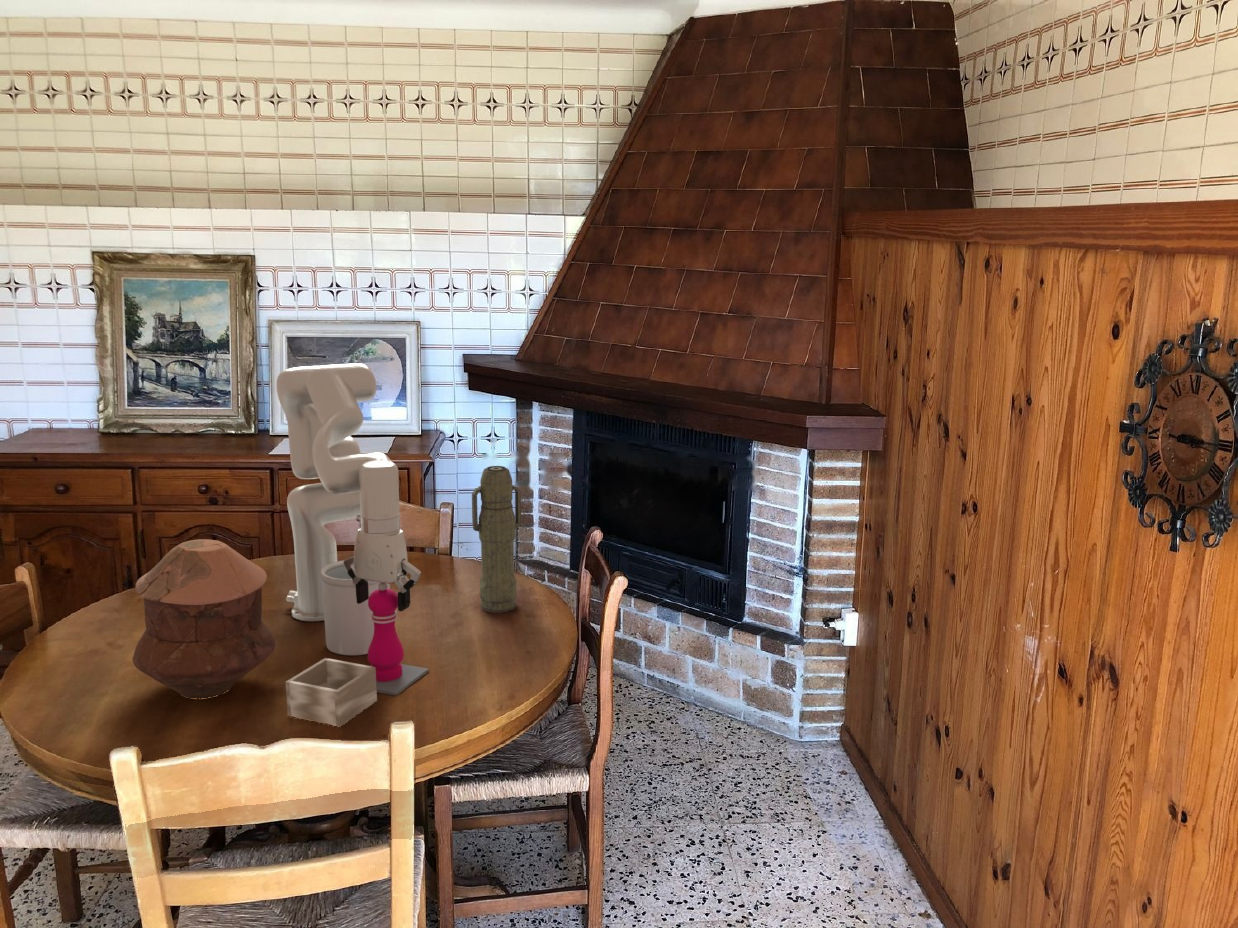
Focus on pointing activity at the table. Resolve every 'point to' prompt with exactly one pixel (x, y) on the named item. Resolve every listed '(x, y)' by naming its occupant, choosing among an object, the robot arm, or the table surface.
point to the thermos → (497, 538)
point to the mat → (401, 680)
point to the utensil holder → (346, 612)
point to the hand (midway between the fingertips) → (383, 605)
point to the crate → (331, 691)
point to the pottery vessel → (202, 619)
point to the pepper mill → (385, 635)
